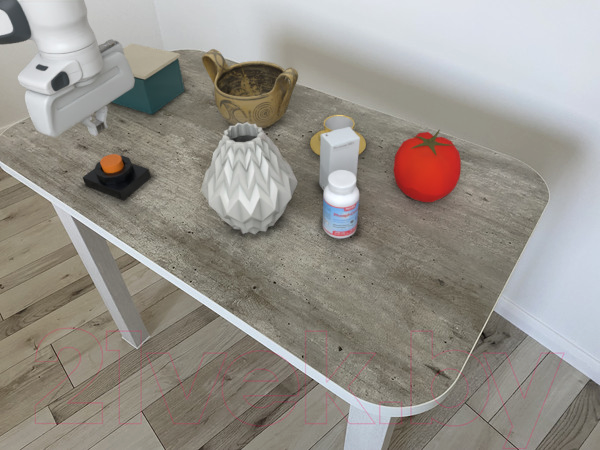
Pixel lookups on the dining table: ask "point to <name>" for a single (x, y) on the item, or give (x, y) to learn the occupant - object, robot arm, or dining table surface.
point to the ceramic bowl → (250, 89)
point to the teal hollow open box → (154, 90)
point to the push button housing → (118, 179)
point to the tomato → (427, 167)
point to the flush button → (112, 163)
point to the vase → (248, 179)
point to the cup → (334, 124)
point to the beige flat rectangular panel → (147, 59)
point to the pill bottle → (340, 204)
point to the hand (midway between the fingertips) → (99, 131)
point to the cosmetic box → (338, 153)
